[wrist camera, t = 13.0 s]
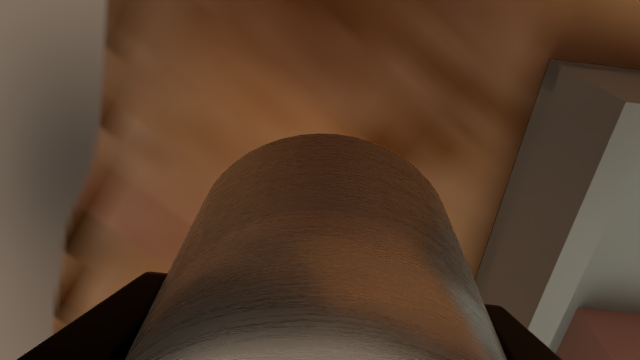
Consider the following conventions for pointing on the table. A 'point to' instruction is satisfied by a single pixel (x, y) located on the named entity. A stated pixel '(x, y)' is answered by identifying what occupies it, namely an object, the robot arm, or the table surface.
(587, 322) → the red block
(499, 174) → the table surface
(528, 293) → the tote
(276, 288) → the steel canister
